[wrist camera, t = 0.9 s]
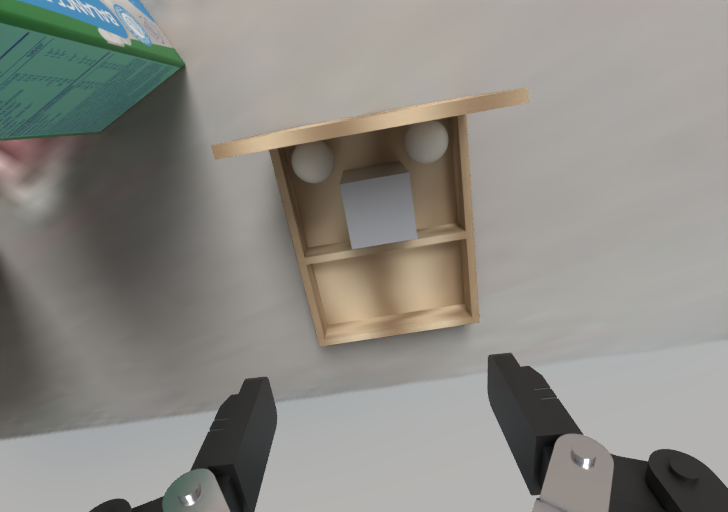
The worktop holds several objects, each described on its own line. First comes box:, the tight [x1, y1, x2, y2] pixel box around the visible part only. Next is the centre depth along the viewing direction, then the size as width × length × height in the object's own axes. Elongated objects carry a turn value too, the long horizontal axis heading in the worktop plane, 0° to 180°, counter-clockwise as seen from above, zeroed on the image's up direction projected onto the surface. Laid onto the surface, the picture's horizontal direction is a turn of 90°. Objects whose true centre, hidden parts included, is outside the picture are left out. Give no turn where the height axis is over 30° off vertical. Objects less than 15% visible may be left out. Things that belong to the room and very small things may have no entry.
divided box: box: [211, 88, 528, 347], centre depth 25 cm, size 14×18×13 cm
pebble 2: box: [404, 120, 449, 164], centre depth 27 cm, size 3×3×3 cm
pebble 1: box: [291, 140, 335, 183], centre depth 27 cm, size 3×3×3 cm
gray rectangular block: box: [339, 161, 418, 249], centre depth 27 cm, size 4×4×6 cm
